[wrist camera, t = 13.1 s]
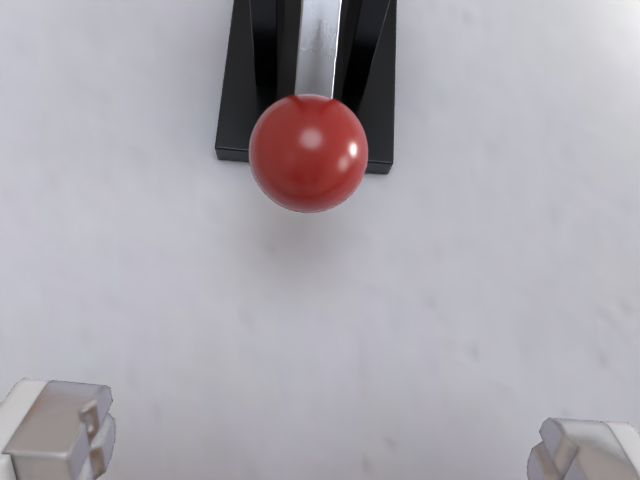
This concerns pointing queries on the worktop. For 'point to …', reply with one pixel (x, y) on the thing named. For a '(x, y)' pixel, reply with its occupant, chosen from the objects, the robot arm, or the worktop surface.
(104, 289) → the worktop surface
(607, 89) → the worktop surface
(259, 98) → the bracket
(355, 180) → the lever
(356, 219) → the worktop surface
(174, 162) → the worktop surface
